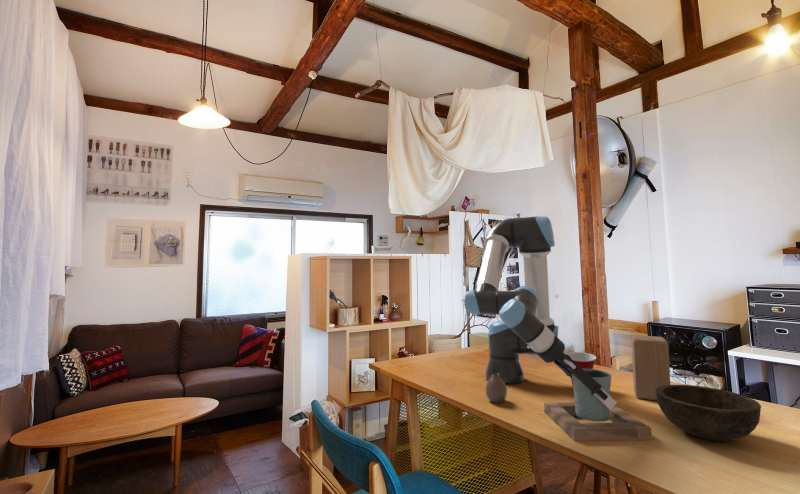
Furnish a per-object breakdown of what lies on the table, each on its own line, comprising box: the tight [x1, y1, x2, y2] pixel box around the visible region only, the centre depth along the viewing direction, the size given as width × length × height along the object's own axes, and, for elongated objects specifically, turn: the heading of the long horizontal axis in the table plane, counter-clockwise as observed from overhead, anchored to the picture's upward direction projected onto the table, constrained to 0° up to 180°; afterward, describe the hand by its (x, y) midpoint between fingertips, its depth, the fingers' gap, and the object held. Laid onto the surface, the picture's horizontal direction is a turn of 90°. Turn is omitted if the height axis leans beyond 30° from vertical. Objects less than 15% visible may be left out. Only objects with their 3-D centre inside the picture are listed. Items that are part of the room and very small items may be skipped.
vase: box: [485, 374, 508, 404], centre depth 130 cm, size 7×7×9 cm
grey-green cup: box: [571, 368, 612, 423], centre depth 109 cm, size 10×10×12 cm
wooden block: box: [631, 334, 671, 402], centre depth 133 cm, size 10×10×20 cm
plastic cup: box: [565, 351, 597, 386], centre depth 143 cm, size 11×11×12 cm
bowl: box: [656, 384, 762, 442], centre depth 101 cm, size 22×22×10 cm
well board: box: [543, 401, 653, 442], centre depth 109 cm, size 20×20×3 cm
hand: (602, 399), depth 109 cm, fingers closed on grey-green cup, 10 cm apart
